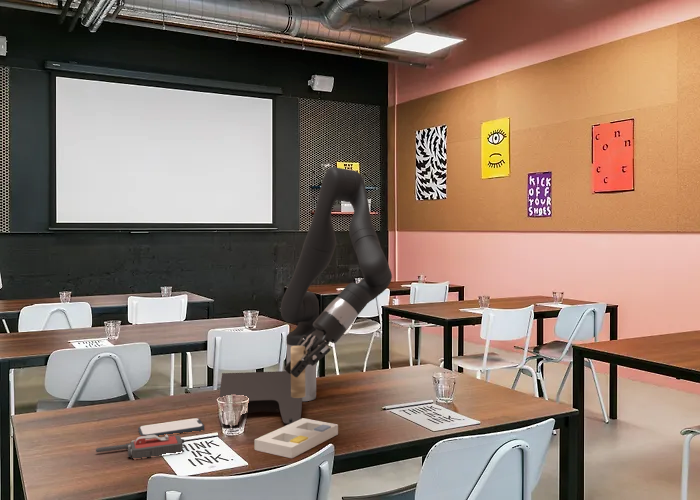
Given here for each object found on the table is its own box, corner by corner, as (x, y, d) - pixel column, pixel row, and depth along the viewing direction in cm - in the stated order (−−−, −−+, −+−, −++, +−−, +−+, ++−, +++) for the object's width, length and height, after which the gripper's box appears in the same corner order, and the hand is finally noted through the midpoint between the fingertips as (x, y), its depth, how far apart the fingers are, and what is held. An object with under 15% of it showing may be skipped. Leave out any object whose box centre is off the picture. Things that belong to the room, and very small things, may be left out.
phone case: (141, 442, 157) (205, 432, 163) (141, 435, 156) (205, 426, 163) (137, 432, 165) (198, 423, 171) (137, 425, 165) (198, 417, 171)
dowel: (288, 396, 151) (287, 347, 150) (296, 393, 154) (296, 345, 153) (300, 398, 149) (299, 348, 149) (308, 395, 152) (308, 346, 152)
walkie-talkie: (182, 443, 155) (95, 454, 147) (182, 425, 155) (95, 436, 147) (188, 454, 147) (96, 467, 139) (187, 436, 146) (96, 447, 139)
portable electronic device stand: (217, 449, 167) (216, 423, 162) (222, 391, 187) (221, 367, 183) (303, 444, 170) (304, 419, 166) (299, 388, 190) (299, 364, 186)
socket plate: (291, 458, 143) (291, 445, 143) (254, 449, 149) (254, 437, 149) (338, 434, 160) (338, 423, 160) (302, 427, 166) (302, 416, 166)
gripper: (314, 306, 160) (269, 358, 155) (338, 313, 148) (289, 369, 143) (333, 325, 163) (289, 377, 158) (357, 333, 150) (311, 389, 145)
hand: (290, 373), depth 150 cm, fingers closed on dowel, 3 cm apart
